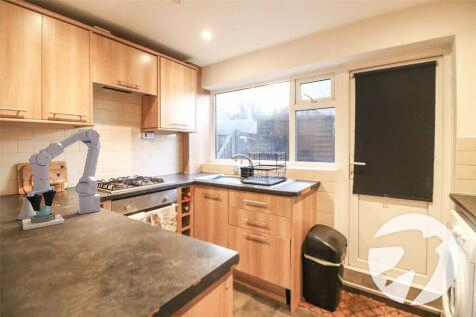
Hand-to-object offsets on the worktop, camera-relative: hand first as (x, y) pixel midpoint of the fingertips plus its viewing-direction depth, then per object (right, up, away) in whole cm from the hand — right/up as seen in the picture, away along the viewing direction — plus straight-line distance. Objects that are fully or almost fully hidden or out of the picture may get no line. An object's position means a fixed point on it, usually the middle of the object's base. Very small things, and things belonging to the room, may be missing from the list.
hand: (42, 208), depth 111 cm
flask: (-14, -6, +8) cm, 17 cm away
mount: (0, -6, 0) cm, 6 cm away
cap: (0, -5, 0) cm, 5 cm away
